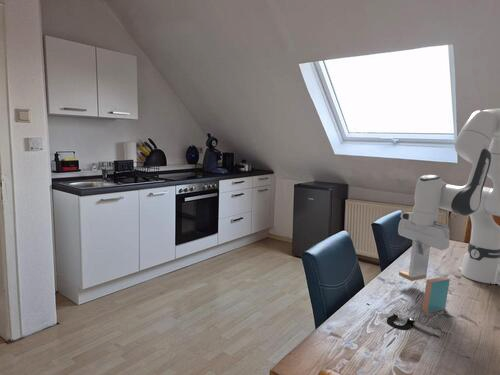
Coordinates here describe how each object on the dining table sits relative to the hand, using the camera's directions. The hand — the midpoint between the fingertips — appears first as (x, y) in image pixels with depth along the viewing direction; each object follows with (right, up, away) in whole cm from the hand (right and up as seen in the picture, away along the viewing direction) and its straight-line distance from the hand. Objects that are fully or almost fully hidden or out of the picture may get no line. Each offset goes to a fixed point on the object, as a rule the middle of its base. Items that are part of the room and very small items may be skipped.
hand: (420, 253), depth 141 cm
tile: (-2, -17, -13) cm, 22 cm away
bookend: (-1, -10, +4) cm, 10 cm away
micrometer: (-15, -19, -27) cm, 37 cm away
